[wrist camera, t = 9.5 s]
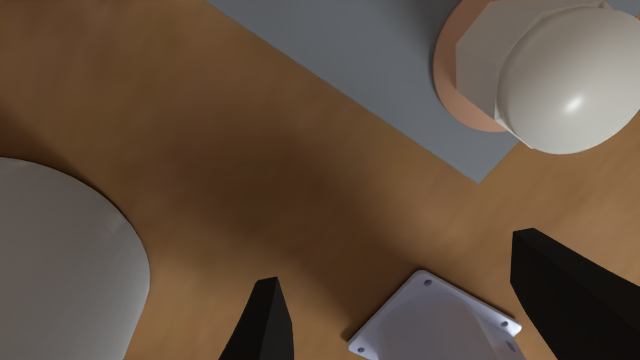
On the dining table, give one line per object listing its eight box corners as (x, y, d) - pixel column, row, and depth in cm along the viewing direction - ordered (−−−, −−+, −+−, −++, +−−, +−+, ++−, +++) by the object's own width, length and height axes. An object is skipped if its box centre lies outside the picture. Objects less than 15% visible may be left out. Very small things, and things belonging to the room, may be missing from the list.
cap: (574, -15, 17) (673, -7, 13) (562, 100, 19) (642, 141, 15) (454, 8, 17) (511, 24, 13) (456, 120, 20) (505, 166, 15)
